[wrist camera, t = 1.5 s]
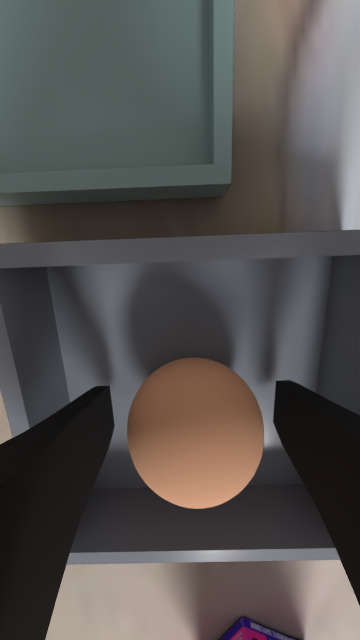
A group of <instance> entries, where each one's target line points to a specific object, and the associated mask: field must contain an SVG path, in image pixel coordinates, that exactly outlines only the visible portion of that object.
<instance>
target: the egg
mask: <svg viewBox="0 0 360 640" xmlns="http://www.w3.org/2000/svg"><path fill="white" fill-rule="evenodd" d="M127 440H128V446H129V451H130V455H131V457H132V460H133V463H134V466H135V468H136V469H137V471H138V473H139V475H140V476H141V478H142V479H143V480H144V482H145V483H146V484H147V485H148V486H149V487H150V488H151V489H152V490H153V491H154V492H155V493H156V494H157V495H159V496H160V497H162V498H163V499H165V500H167V501H169V502H171V503H173V504H175V505H178V506H181V507H186V508H193V509H201V508H209V507H214V506H217V505H220V504H222V503H224V502H226V501H228V500H230V499H231V498H233V497H234V496H236V495H237V494H238V493H240V492H241V491H242V490H243V489H244V488H245V486H246V485H247V484H248V483H249V482H250V480H251V479H252V477H253V476H254V474H255V472H256V470H257V468H258V465H259V463H260V460H261V457H262V453H263V447H264V423H263V417H262V413H261V410H260V407H259V404H258V402H257V399H256V398H255V396H254V394H253V392H252V391H251V389H250V388H249V386H248V385H247V384H246V382H245V381H244V380H243V379H242V378H241V377H240V376H239V375H238V374H237V373H235V372H234V371H233V370H232V369H230V368H228V367H227V366H225V365H223V364H221V363H218V362H216V361H213V360H210V359H206V358H196V357H191V358H182V359H178V360H175V361H172V362H169V363H167V364H165V365H163V366H162V367H160V368H159V369H157V370H156V371H154V372H153V373H152V374H151V375H150V376H149V377H148V378H147V379H146V380H145V381H144V382H143V384H142V385H141V386H140V388H139V390H138V391H137V393H136V395H135V397H134V399H133V402H132V404H131V408H130V411H129V415H128V422H127Z"/></svg>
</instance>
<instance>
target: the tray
mask: <svg viewBox="0 0 360 640" xmlns="http://www.w3.org/2000/svg"><path fill="white" fill-rule="evenodd" d="M233 54H234V0H0V206H15V205H39V204H63V203H87V202H111V201H135V200H159V199H183V198H207V197H223V195H224V194H225V192H226V191H227V189H228V188H229V186H230V185H231V173H232V114H233Z"/></svg>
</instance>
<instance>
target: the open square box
mask: <svg viewBox="0 0 360 640" xmlns="http://www.w3.org/2000/svg"><path fill="white" fill-rule="evenodd" d="M191 357H196V358H206V359H210V360H213V361H216V362H218V363H221V364H223V365H225V366H227V367H228V368H230V369H232V370H233V371H234V372H235V373H237V374H238V375H239V376H240V377H241V378H242V379H243V380H244V381H245V382H246V384H247V385H248V386H249V388H250V389H251V391H252V392H253V394H254V396H255V398H256V399H257V402H258V404H259V407H260V410H261V413H262V417H263V423H264V447H263V453H262V457H261V460H260V463H259V465H258V468H257V470H256V472H255V474H254V476H253V477H252V479H251V480H250V482H249V483H248V484H247V485H246V486H245V488H244V489H243V490H242V491H241V492H240V493H238V494H237V495H236V496H234V497H233V498H231V499H230V500H228V501H226V502H224V503H222V504H220V505H217V506H214V507H209V508H201V509H193V508H186V507H181V506H178V505H175V504H173V503H171V502H169V501H167V500H165V499H163V498H162V497H160V496H159V495H157V494H156V493H155V492H154V491H153V490H152V489H151V488H150V487H149V486H148V485H147V484H146V483H145V482H144V480H143V479H142V478H141V476H140V475H139V473H138V471H137V469H136V468H135V466H134V463H133V460H132V457H131V455H130V451H129V446H128V440H127V422H128V415H129V411H130V408H131V404H132V402H133V399H134V397H135V395H136V393H137V391H138V390H139V388H140V386H141V385H142V384H143V382H144V381H145V380H146V379H147V378H148V377H149V376H150V375H151V374H152V373H153V372H154V371H156V370H157V369H159V368H160V367H162V366H163V365H165V364H167V363H169V362H172V361H175V360H178V359H182V358H191ZM281 380H291V381H293V382H296V383H298V384H300V385H302V386H304V387H306V388H308V389H310V390H311V391H313V392H315V393H317V394H319V395H321V396H323V397H325V398H326V399H328V400H330V401H332V402H334V403H336V404H338V405H340V406H342V407H344V408H346V409H348V410H350V411H352V412H354V413H356V414H358V415H360V230H340V231H315V232H289V233H264V234H238V235H213V236H187V237H162V238H136V239H111V240H85V241H59V242H34V243H8V244H0V390H1V394H2V397H3V401H4V405H5V409H6V413H7V417H8V421H9V425H10V429H11V432H12V436H13V438H14V437H15V436H17V435H19V434H21V433H23V432H25V431H26V430H28V429H30V428H31V427H33V426H35V425H36V424H38V423H40V422H41V421H43V420H44V419H46V418H48V417H49V416H51V415H52V414H54V413H56V412H57V411H59V410H60V409H62V408H63V407H65V406H66V405H67V404H69V403H70V402H72V401H73V400H75V399H76V398H78V397H79V396H81V395H82V394H84V393H85V392H87V391H88V390H90V389H91V388H93V387H95V386H110V392H111V400H112V408H113V416H114V424H115V427H114V431H113V435H112V439H111V442H110V446H109V449H108V452H107V454H106V457H105V459H104V462H103V464H102V467H101V469H100V471H99V474H98V476H97V479H96V481H95V484H94V486H93V488H92V491H91V493H90V496H89V498H88V501H87V503H86V505H85V508H84V511H83V514H82V516H81V519H80V522H79V525H78V528H77V531H76V535H75V538H74V541H73V544H72V547H71V551H70V554H69V557H68V561H67V564H66V565H68V564H124V563H180V562H237V561H293V560H340V558H339V555H338V553H337V551H336V548H335V546H334V544H333V542H332V539H331V537H330V535H329V533H328V531H327V528H326V526H325V524H324V522H323V519H322V517H321V515H320V513H319V511H318V509H317V507H316V505H315V503H314V501H313V499H312V498H311V496H310V494H309V492H308V491H307V489H306V487H305V485H304V483H303V482H302V480H301V478H300V476H299V474H298V473H297V471H296V469H295V467H294V465H293V464H292V462H291V460H290V458H289V456H288V455H287V453H286V451H285V449H284V447H283V445H282V443H281V441H280V438H279V436H278V434H277V431H276V428H275V426H274V423H273V414H274V401H275V387H276V381H281Z"/></svg>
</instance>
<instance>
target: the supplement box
mask: <svg viewBox="0 0 360 640" xmlns="http://www.w3.org/2000/svg"><path fill="white" fill-rule="evenodd" d="M219 640H297V639H292V638H290V637H288V636H285V635H283V634H280V633H278V632H276V631H273V630H271V629H268V628H266V627H264V626H261V625H259V624H257V623H255V622H253V621H252V620H250V619H247V618H245V617H241V618H240V619H239V620H238V621H237V622H236V623H235V624H234V625H233V626H232V627H231V628H230V629H229V630H228V631H227V632H226V633H225V634H224V635H223V636H222V637H221V638H220V639H219Z"/></svg>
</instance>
